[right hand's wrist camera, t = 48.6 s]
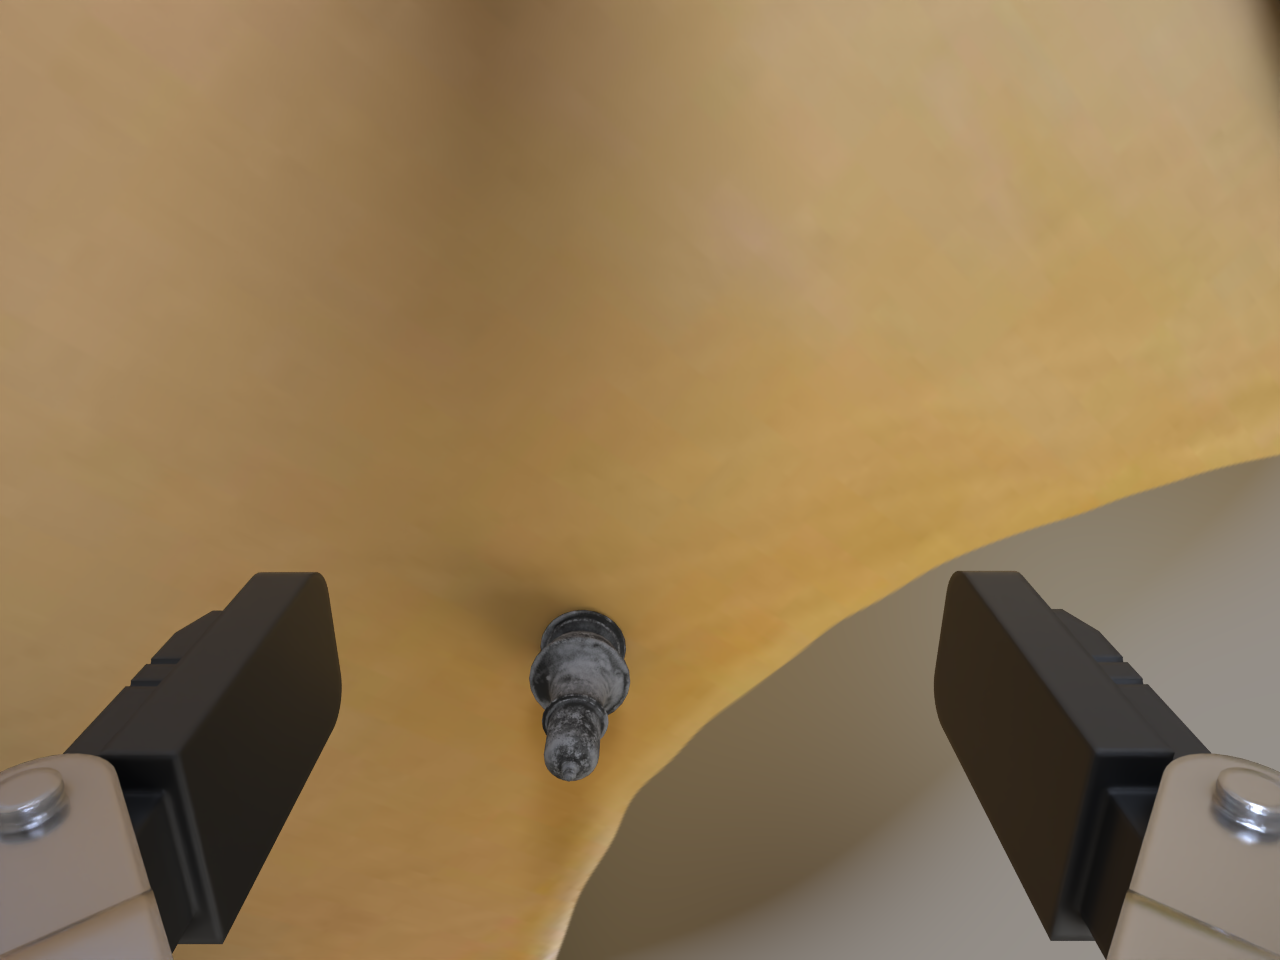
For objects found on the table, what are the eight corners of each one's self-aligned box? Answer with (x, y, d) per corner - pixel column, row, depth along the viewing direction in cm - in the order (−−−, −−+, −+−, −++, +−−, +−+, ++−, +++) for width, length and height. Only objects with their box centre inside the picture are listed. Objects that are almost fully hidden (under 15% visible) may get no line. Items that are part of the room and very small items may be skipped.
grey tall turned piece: (650, 650, 54) (652, 784, 43) (581, 702, 56) (566, 845, 45) (585, 588, 53) (570, 710, 41) (516, 644, 54) (484, 777, 43)
